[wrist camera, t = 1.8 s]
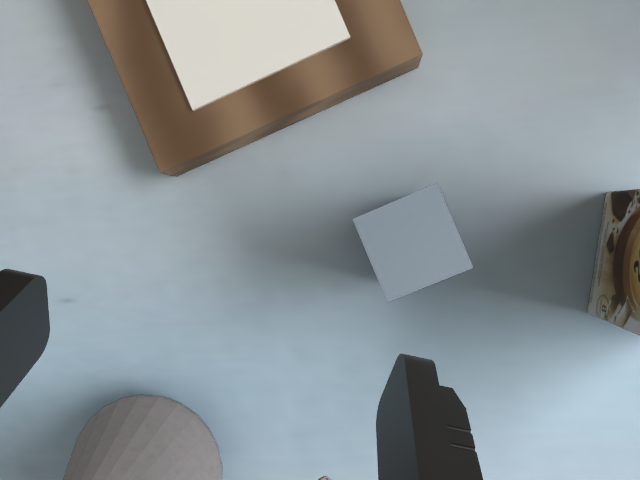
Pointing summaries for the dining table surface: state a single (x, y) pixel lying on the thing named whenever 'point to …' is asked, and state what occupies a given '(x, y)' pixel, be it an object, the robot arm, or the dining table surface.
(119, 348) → the dining table surface
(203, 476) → the coffee pot
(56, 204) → the dining table surface
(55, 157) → the dining table surface
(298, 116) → the wooden board
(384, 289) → the slate block
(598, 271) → the coffee box
